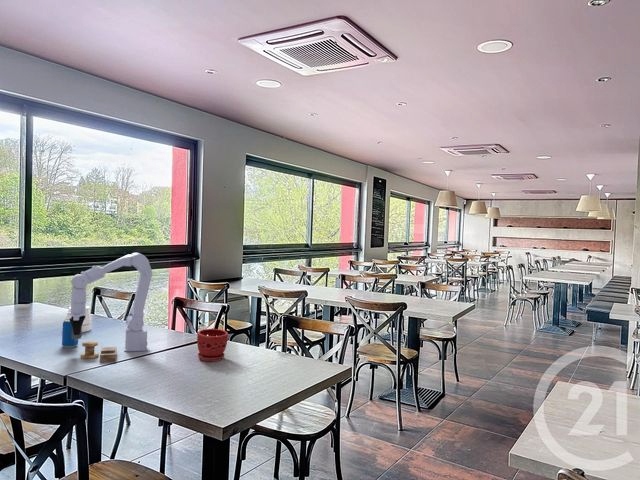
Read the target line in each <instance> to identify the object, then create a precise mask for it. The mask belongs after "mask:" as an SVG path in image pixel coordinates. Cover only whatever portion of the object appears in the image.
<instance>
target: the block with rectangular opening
mask: <svg viewBox="0 0 640 480" xmlns="http://www.w3.org/2000/svg"><path fill="white" fill-rule="evenodd" d="M117 349H118V347H117V346H109V347H108V346H105V347H101V349H100V354H99V363H109V362H111V363H113V362H117V361H116V360H117Z"/></svg>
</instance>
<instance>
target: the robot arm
mask: <svg viewBox="0 0 640 480" xmlns="http://www.w3.org/2000/svg"><path fill="white" fill-rule="evenodd" d="M121 267H133V268H135V269H136V270H137V272H138V273H139V274H140V275H139V278H138V283H137V288H136V292H135V295H134V299H133V304H132V306H131V309H130V311H129V314H128V315H127V316H126V318H125V324H126V325H127V327H126V328H125V340H124V346H123V352H144V351H146V352H147V350H148V349H147V347H148V329H144V328H143V327H144V325H145V322H144V315H145V314H144V309H145V305H146V300H147V296H148V293H149V288H150V285H151V280H152V277H153V270H152V267H151V265H150V261H149V259H148V257H146V256H145V255H144V254H142V253H140V252H135V251H134V252H132V253H131V254H129V253H128V254H126V255H124V256H122V257H120V258H117V259H116V260H113V261H111V262H109V263H107V264H106V265H103V266H101V265H93V266H91V268H89V269H87V270H85V271H84V270H83V271H81V272H80V274H79V273H77V274H75V275H73V277H71V280H70V283H71V292H70V295H71V297H70V306H71V312H68V311H67V313H66V315H67V314H68V315H71V316H72V317H71V318H70V322H71V324H72V328H73V333H74V335H79V334H80V331H81V326H82V324H83V321H84V319H85V317H86V315H85V314H86V312H85V311H86V306H87V286H88V285H89V284H92V283H95V282H97V281H99V280H101V279H104V278H105V276H106V274H107V273H110V272H112V271H114V270H116V269H119V268H121Z"/></svg>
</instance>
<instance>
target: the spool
mask: <svg viewBox="0 0 640 480" xmlns="http://www.w3.org/2000/svg"><path fill="white" fill-rule="evenodd" d="M81 343H82V344H81V346H82V347H84V352H82V353H80V356H79V357H80V359H82V360H92V359H93V360H94V359H97V358H98V357H100V354H99V352H96V351H95V347H97V346H98V345H99V342H98V341H96V340H88V341H87V340H86V341H83V342H81Z"/></svg>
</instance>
